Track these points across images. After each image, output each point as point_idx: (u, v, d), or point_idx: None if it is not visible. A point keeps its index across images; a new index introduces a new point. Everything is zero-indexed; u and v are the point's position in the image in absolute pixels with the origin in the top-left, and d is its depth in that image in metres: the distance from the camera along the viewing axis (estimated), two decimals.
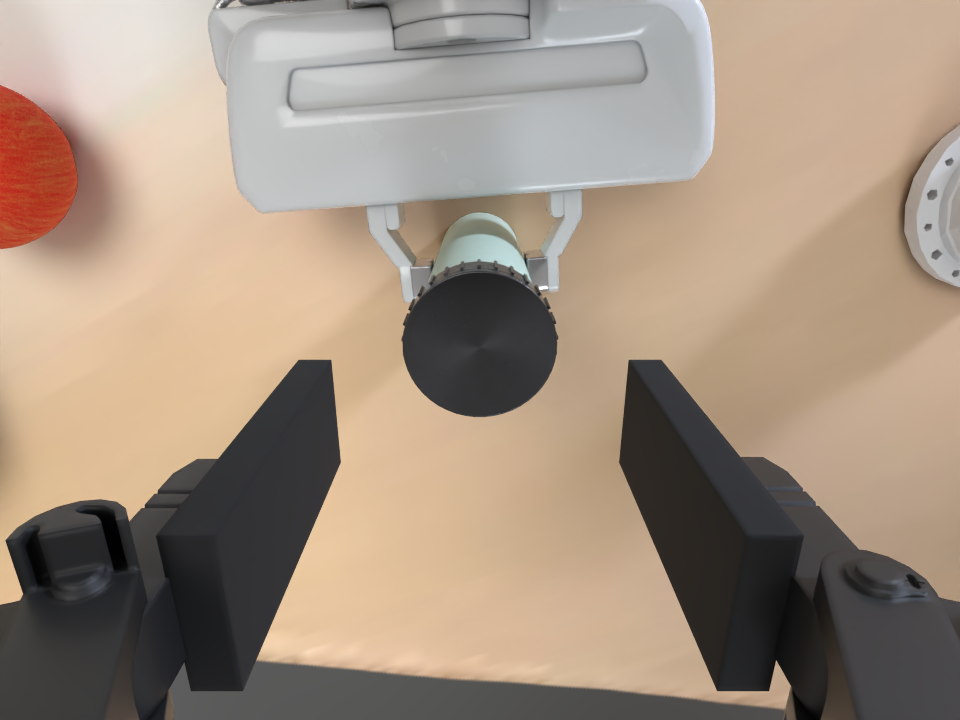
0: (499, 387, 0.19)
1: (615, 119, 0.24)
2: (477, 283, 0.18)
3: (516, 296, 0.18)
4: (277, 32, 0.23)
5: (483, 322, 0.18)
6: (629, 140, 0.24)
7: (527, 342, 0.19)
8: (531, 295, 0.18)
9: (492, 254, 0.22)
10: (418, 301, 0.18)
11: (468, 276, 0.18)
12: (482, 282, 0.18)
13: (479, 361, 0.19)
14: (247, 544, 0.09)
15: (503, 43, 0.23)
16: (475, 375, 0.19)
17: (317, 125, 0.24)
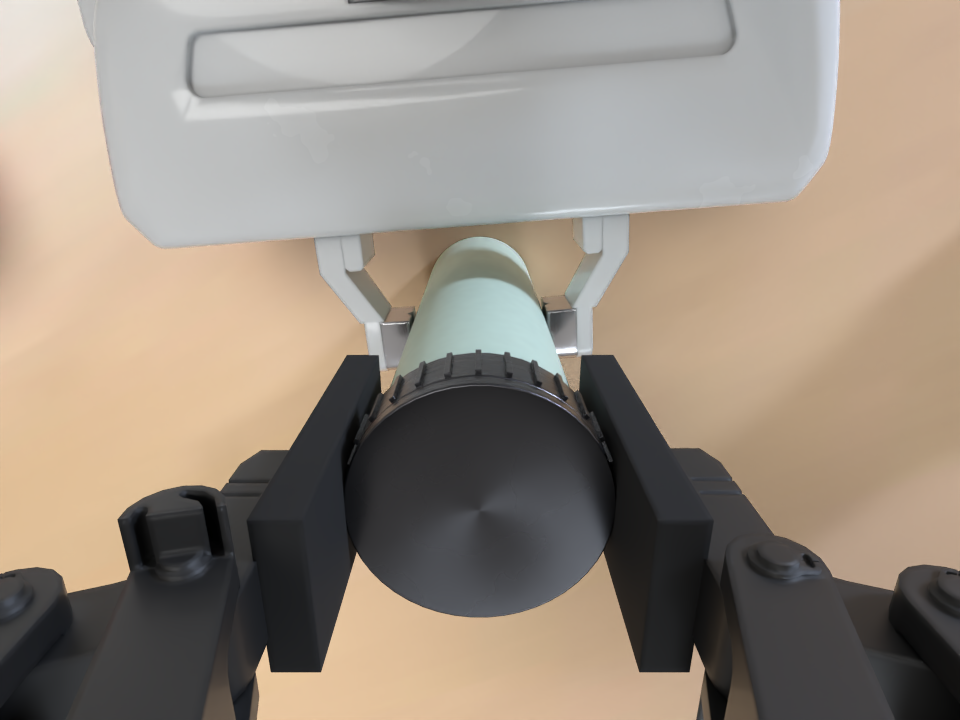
0: (514, 572, 0.11)
1: (684, 110, 0.16)
2: (475, 405, 0.10)
3: (546, 427, 0.10)
4: None
5: (486, 470, 0.10)
6: (705, 142, 0.16)
7: (564, 502, 0.10)
8: (573, 425, 0.10)
9: (500, 324, 0.14)
10: (368, 435, 0.10)
11: (459, 392, 0.10)
12: (484, 403, 0.10)
13: (479, 532, 0.11)
14: (324, 531, 0.09)
15: None
16: (472, 554, 0.11)
17: (235, 119, 0.16)
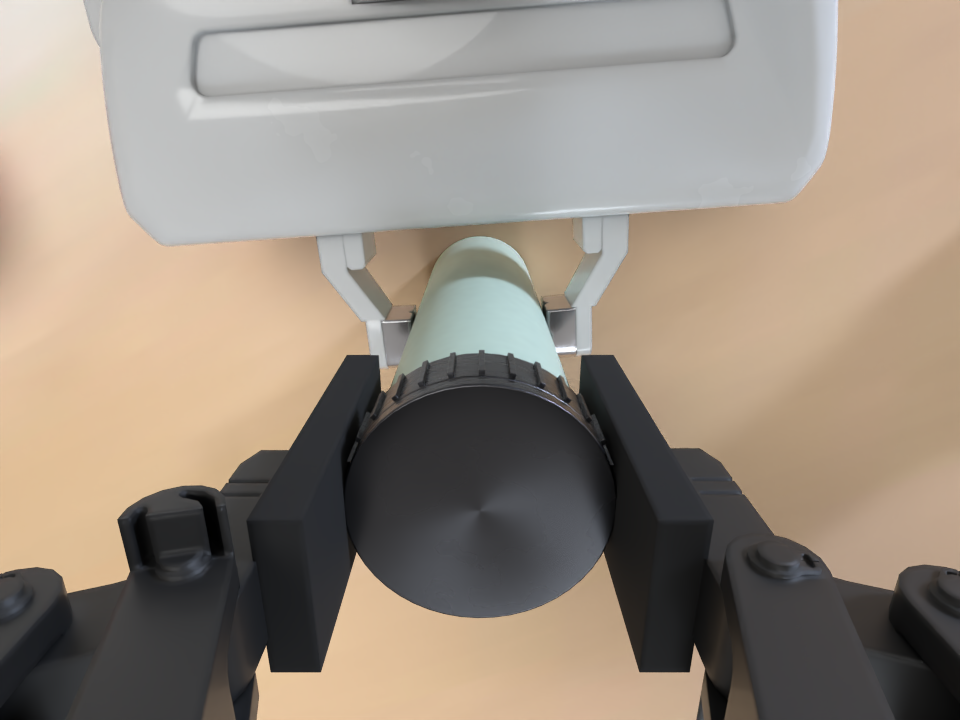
0: (527, 447, 0.10)
1: (684, 112, 0.16)
2: (388, 565, 0.11)
3: (367, 509, 0.11)
4: None
5: (438, 527, 0.11)
6: (704, 143, 0.16)
7: (424, 453, 0.10)
8: (350, 490, 0.10)
9: (500, 322, 0.14)
10: None
11: (388, 578, 0.11)
12: (382, 560, 0.11)
13: (502, 499, 0.10)
14: (324, 530, 0.09)
15: None
16: (530, 492, 0.10)
17: (238, 118, 0.16)
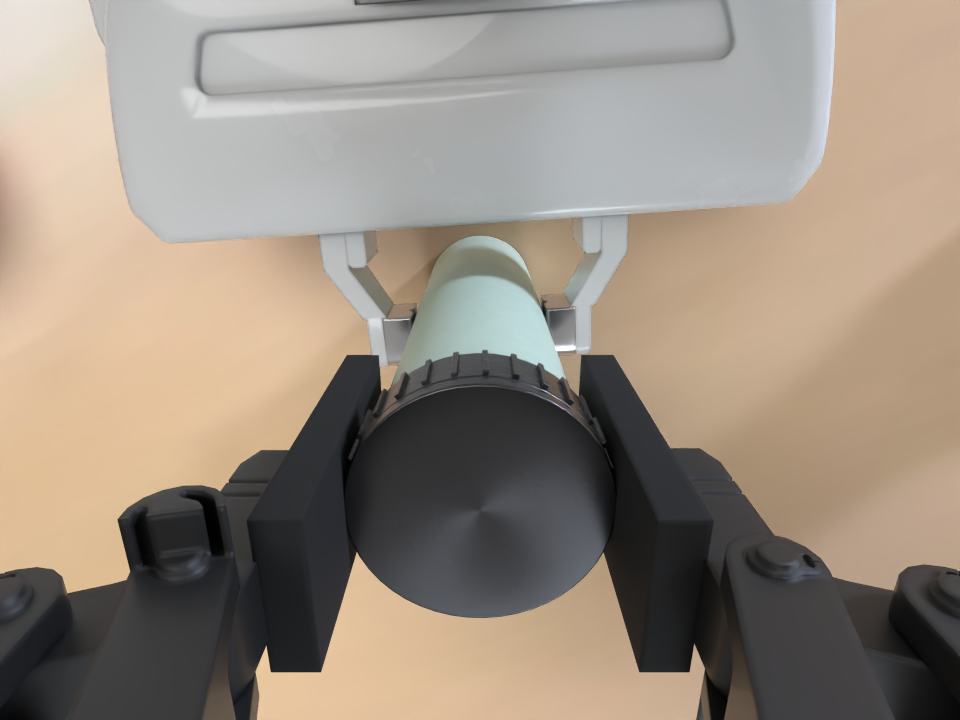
0: (395, 511, 0.11)
1: (683, 113, 0.16)
2: (584, 547, 0.11)
3: (535, 588, 0.11)
4: None
5: (519, 531, 0.11)
6: (703, 144, 0.17)
7: (455, 576, 0.11)
8: (526, 605, 0.11)
9: (500, 320, 0.14)
10: (605, 456, 0.10)
11: (601, 538, 0.11)
12: (582, 554, 0.11)
13: (456, 501, 0.10)
14: (324, 531, 0.09)
15: None
16: (433, 484, 0.10)
17: (242, 117, 0.16)
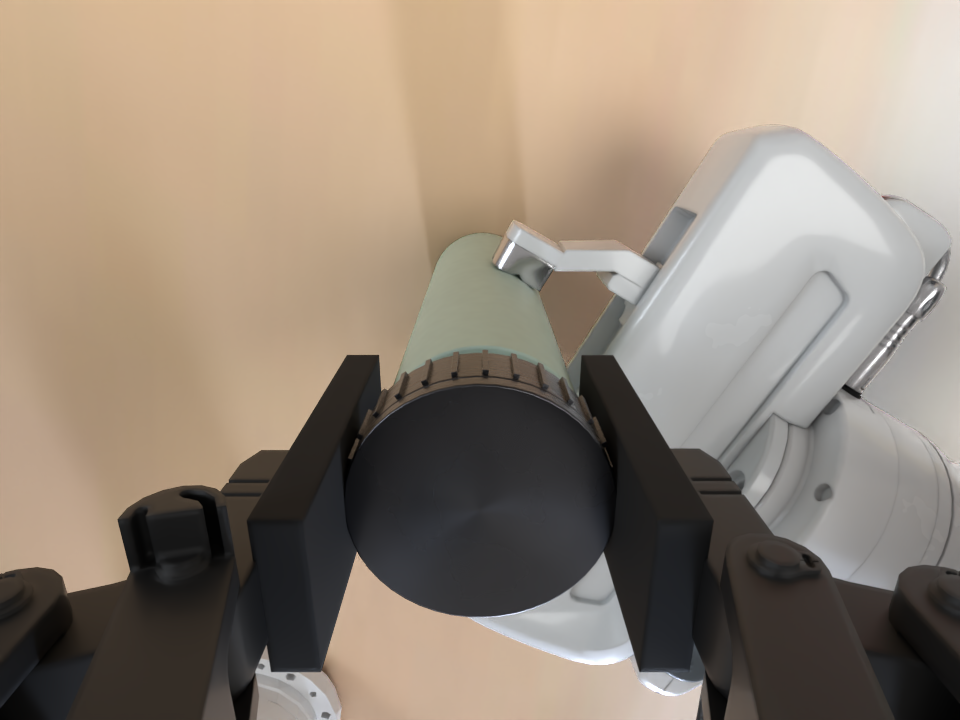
0: (395, 511, 0.11)
1: None
2: (584, 547, 0.11)
3: (535, 587, 0.11)
4: (887, 313, 0.19)
5: (519, 531, 0.11)
6: None
7: (455, 576, 0.11)
8: (526, 605, 0.11)
9: None
10: (605, 456, 0.10)
11: (601, 538, 0.11)
12: (582, 553, 0.11)
13: (456, 501, 0.10)
14: (324, 531, 0.09)
15: None
16: (433, 485, 0.10)
17: (781, 288, 0.18)
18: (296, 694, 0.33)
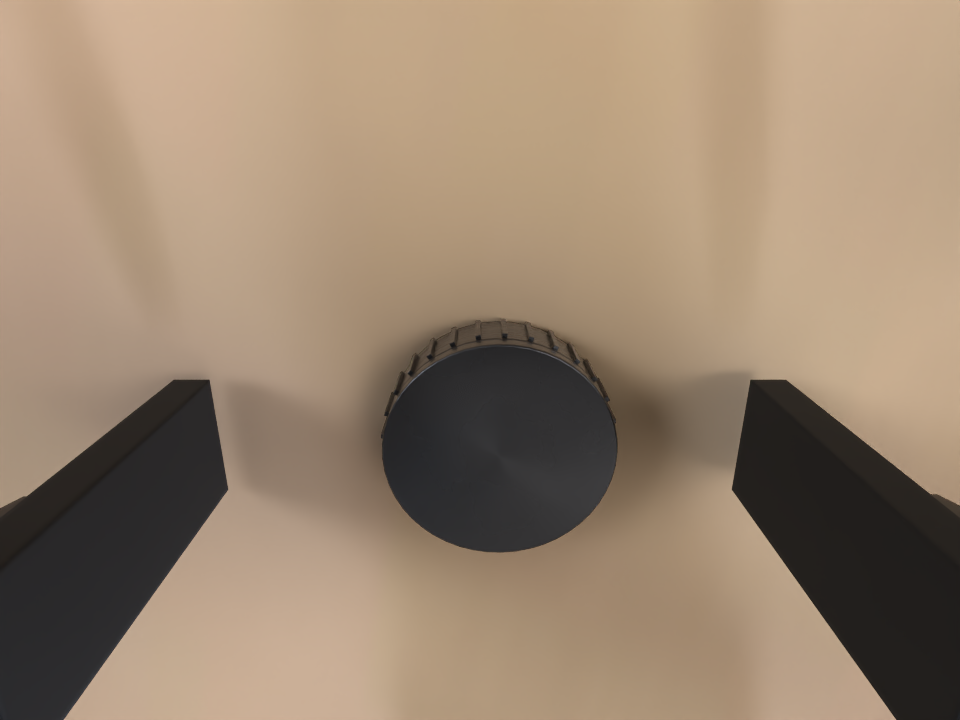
0: (426, 456, 0.12)
1: None
2: (589, 488, 0.13)
3: (547, 525, 0.13)
4: None
5: (533, 474, 0.12)
6: None
7: (477, 514, 0.13)
8: (538, 541, 0.13)
9: None
10: (607, 407, 0.12)
11: (603, 480, 0.13)
12: (587, 494, 0.13)
13: (479, 447, 0.12)
14: (35, 604, 0.08)
15: None
16: (460, 433, 0.12)
17: None
18: None
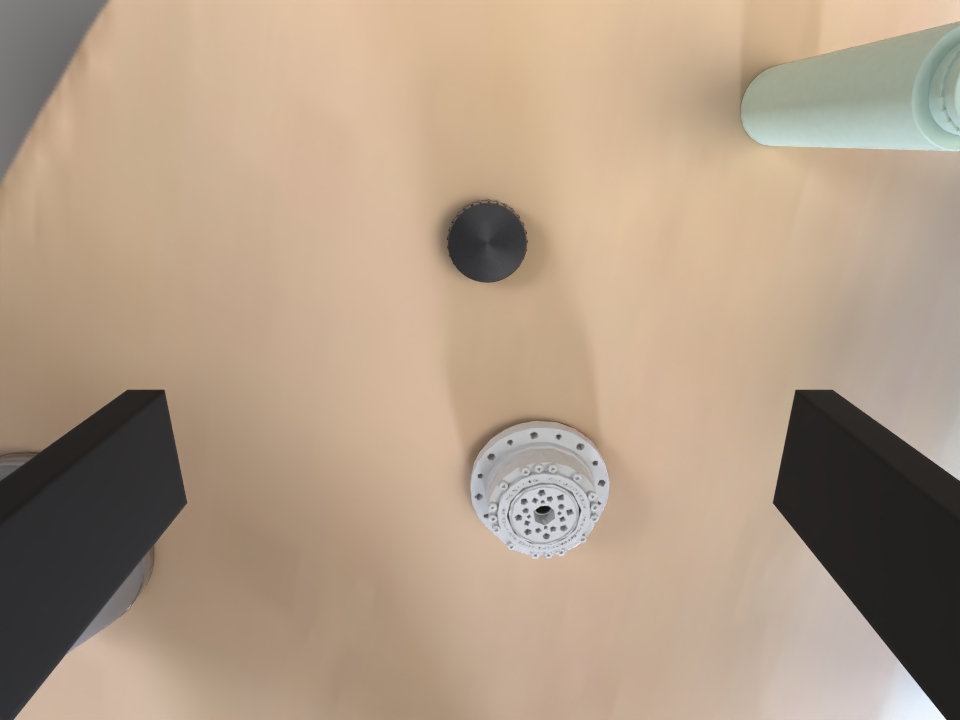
0: (462, 243, 0.37)
1: None
2: (517, 256, 0.37)
3: (503, 270, 0.37)
4: None
5: (498, 250, 0.37)
6: None
7: (479, 266, 0.37)
8: (501, 277, 0.37)
9: None
10: (522, 225, 0.36)
11: (522, 253, 0.37)
12: (517, 258, 0.37)
13: (480, 240, 0.37)
14: None
15: None
16: (474, 235, 0.37)
17: None
18: (584, 461, 0.42)
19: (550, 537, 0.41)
